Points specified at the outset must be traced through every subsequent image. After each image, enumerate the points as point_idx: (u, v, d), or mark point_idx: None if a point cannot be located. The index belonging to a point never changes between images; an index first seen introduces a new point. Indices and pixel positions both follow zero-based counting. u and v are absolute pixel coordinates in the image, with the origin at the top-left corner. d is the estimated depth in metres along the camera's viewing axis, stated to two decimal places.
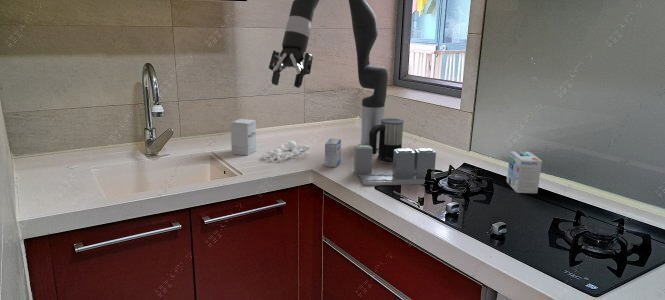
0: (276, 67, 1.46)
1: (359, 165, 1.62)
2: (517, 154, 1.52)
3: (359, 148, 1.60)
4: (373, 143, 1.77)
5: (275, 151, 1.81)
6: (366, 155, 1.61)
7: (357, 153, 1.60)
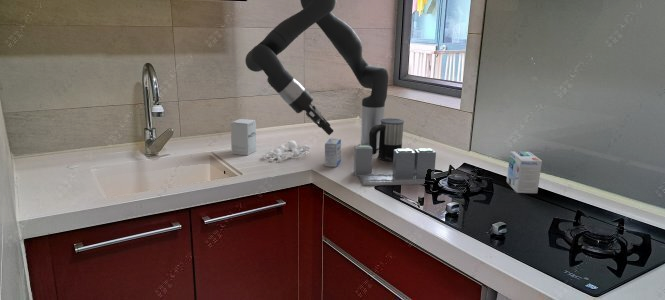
0: None
1: (359, 165, 1.62)
2: (517, 154, 1.52)
3: (359, 148, 1.60)
4: (373, 143, 1.77)
5: (275, 151, 1.81)
6: (366, 155, 1.61)
7: (357, 153, 1.60)
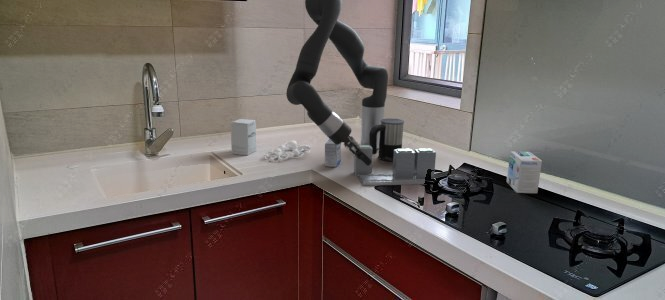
0: None
1: (359, 165, 1.62)
2: (517, 154, 1.52)
3: None
4: (373, 143, 1.76)
5: (276, 151, 1.81)
6: (366, 155, 1.61)
7: None
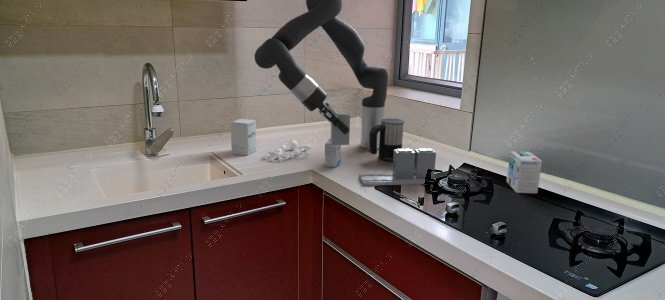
0: None
1: (335, 134, 1.49)
2: (517, 154, 1.52)
3: None
4: (373, 143, 1.76)
5: (276, 151, 1.82)
6: (343, 122, 1.49)
7: None
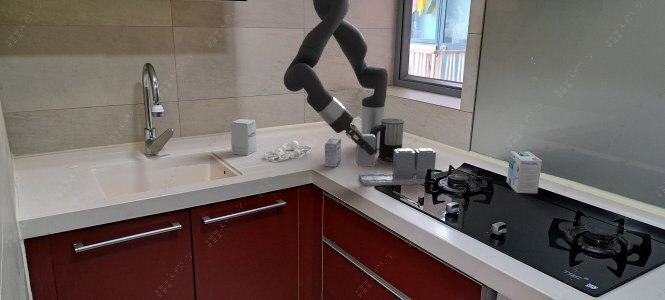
0: None
1: (361, 155, 1.52)
2: (517, 154, 1.52)
3: None
4: None
5: (276, 151, 1.82)
6: (369, 144, 1.52)
7: None
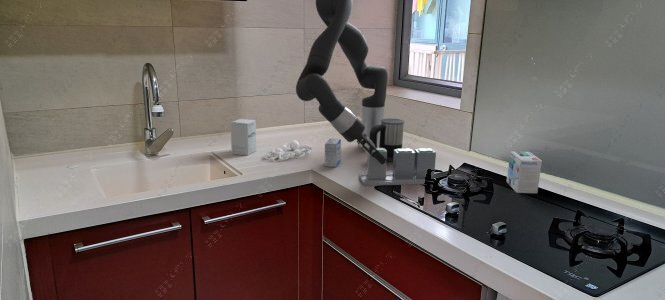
0: None
1: (372, 169, 1.54)
2: (517, 154, 1.52)
3: (373, 151, 1.53)
4: None
5: (277, 151, 1.82)
6: None
7: (370, 156, 1.53)
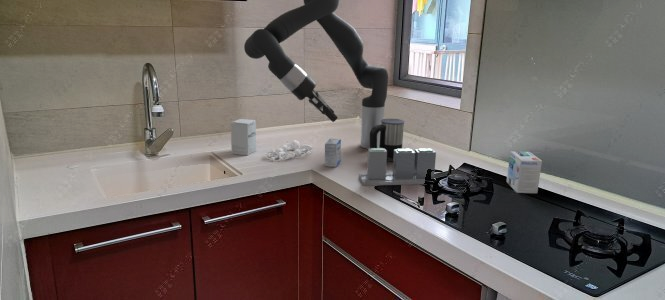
0: None
1: (372, 169, 1.54)
2: (517, 154, 1.52)
3: (373, 151, 1.53)
4: (373, 143, 1.76)
5: (277, 150, 1.82)
6: (380, 158, 1.53)
7: (370, 156, 1.53)
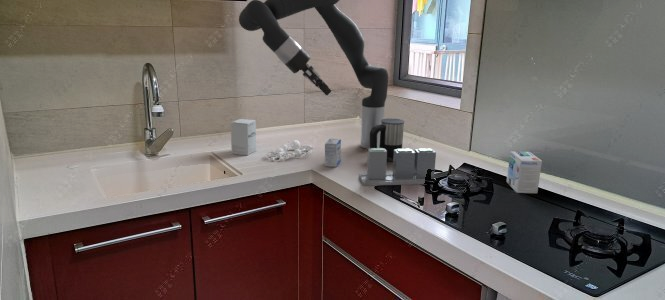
0: None
1: (372, 169, 1.54)
2: (517, 154, 1.52)
3: (373, 151, 1.53)
4: (373, 143, 1.76)
5: (278, 150, 1.82)
6: (380, 158, 1.53)
7: (370, 156, 1.53)
